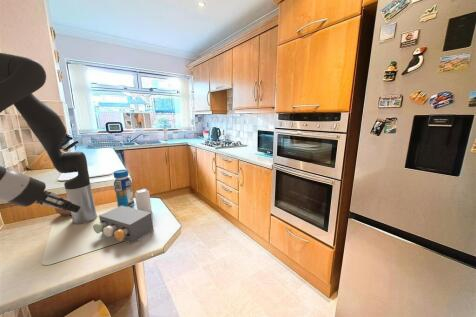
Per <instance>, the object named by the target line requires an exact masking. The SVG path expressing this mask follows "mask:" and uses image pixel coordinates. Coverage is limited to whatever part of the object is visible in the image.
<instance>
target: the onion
mask: <svg viewBox="0 0 476 317" xmlns="http://www.w3.org/2000/svg"><path fill="white" fill-rule="evenodd" d="M64 198H65V200H67V201H68V198H67V196H66V197H64ZM54 209H55V212H56V213H58V214H59V215H60V216H63V217H67V216H72V215H71V211H69V210H63V209H62V208H61V209H60V208H57V209H56V208H54Z"/></svg>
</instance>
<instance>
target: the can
mask: <svg viewBox="0 0 476 317" xmlns="http://www.w3.org/2000/svg"><path fill="white" fill-rule="evenodd" d="M134 198H135V203H136V205H135V206H136V209H138V210H142V211H146V212H150V213H152V203H151V195H150V191H149V189H148V188H143V187H142V188H139V189H137V190H135V194H134Z"/></svg>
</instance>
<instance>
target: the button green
mask: <svg viewBox="0 0 476 317" xmlns="http://www.w3.org/2000/svg"><path fill="white" fill-rule="evenodd" d="M107 226H108V225H107V222H106V221H105V222H103V223H100V221H99V222H96V223H95V224H94V223H93V231H94V232H95V233H96V234H100V233H102V231H103V229H104V228H105V227H107Z"/></svg>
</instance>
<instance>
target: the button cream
mask: <svg viewBox="0 0 476 317" xmlns="http://www.w3.org/2000/svg"><path fill="white" fill-rule="evenodd" d="M117 230H118V227H117V225H116V224H115V225H113V226H107V227H105V228H104V229H103V232H104V233H103V234H104V235H105V237H106V238H110V237H113V236H112V235H113V234H114V232H115V231H117Z"/></svg>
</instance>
